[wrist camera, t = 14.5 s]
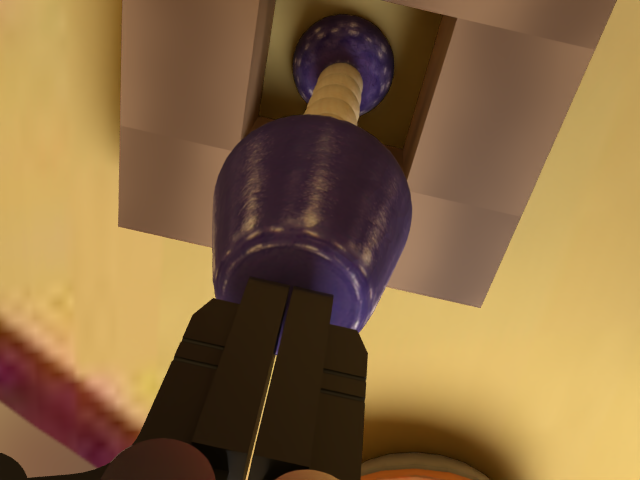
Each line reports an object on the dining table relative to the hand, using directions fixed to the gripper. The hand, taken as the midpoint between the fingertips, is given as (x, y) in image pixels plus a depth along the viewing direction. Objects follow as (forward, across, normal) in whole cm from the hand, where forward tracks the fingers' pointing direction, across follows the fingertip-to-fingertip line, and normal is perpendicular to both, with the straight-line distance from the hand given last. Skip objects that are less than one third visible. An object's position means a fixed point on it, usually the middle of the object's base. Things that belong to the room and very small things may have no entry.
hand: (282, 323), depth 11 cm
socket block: (+17, 0, 0) cm, 17 cm away
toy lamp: (+17, 0, 0) cm, 17 cm away
